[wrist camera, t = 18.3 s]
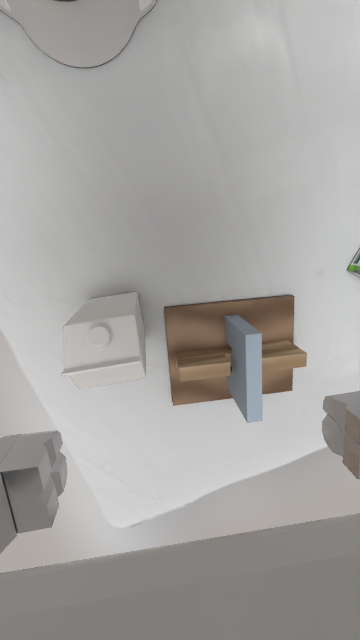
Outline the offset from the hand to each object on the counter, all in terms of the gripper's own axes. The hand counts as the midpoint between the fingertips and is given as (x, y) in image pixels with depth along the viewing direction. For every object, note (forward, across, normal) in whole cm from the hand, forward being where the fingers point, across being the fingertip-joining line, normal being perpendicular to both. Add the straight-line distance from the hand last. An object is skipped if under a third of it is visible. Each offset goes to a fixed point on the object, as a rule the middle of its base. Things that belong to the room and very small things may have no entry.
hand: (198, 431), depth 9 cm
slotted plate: (+36, -11, +12) cm, 39 cm away
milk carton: (+37, +6, +5) cm, 38 cm away
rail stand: (+37, -11, +12) cm, 40 cm away
